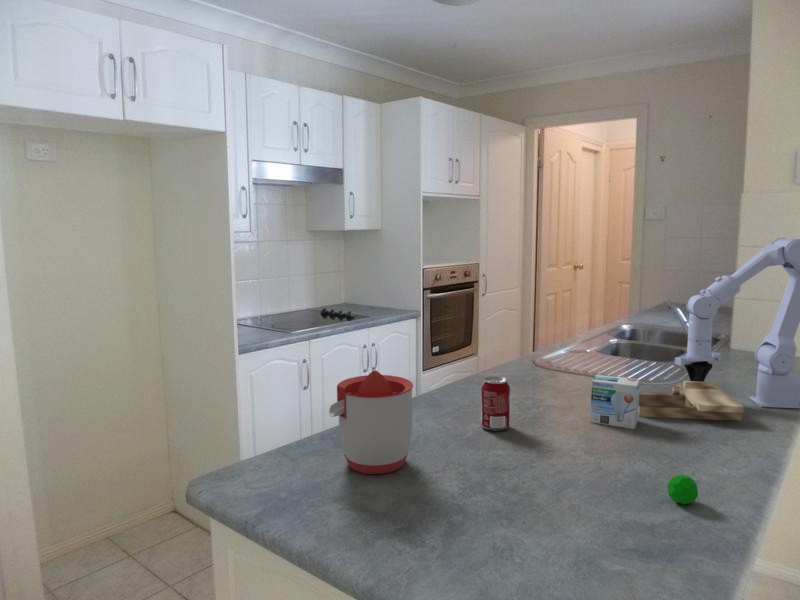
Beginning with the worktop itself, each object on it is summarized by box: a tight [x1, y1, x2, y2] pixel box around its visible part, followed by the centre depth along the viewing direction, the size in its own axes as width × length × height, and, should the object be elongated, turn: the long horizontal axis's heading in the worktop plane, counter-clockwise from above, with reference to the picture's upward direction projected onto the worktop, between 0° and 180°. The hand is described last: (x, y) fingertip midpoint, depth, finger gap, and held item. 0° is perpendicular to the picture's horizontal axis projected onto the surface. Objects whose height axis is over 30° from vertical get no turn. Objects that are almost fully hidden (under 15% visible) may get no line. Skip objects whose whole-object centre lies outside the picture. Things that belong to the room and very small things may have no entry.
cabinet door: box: [639, 391, 686, 408], centre depth 148 cm, size 11×2×4 cm, turn 81°
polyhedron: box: [667, 474, 699, 505], centre depth 104 cm, size 5×5×5 cm
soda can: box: [480, 375, 511, 432], centre depth 141 cm, size 7×7×12 cm
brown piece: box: [638, 384, 743, 422], centre depth 156 cm, size 24×19×3 cm
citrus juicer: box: [328, 370, 414, 475], centre depth 120 cm, size 16×17×20 cm
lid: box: [679, 380, 745, 414], centre depth 150 cm, size 10×16×3 cm, turn 170°
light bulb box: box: [589, 374, 641, 430], centre depth 144 cm, size 11×7×11 cm, turn 62°
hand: (696, 388), depth 160 cm, fingers closed
